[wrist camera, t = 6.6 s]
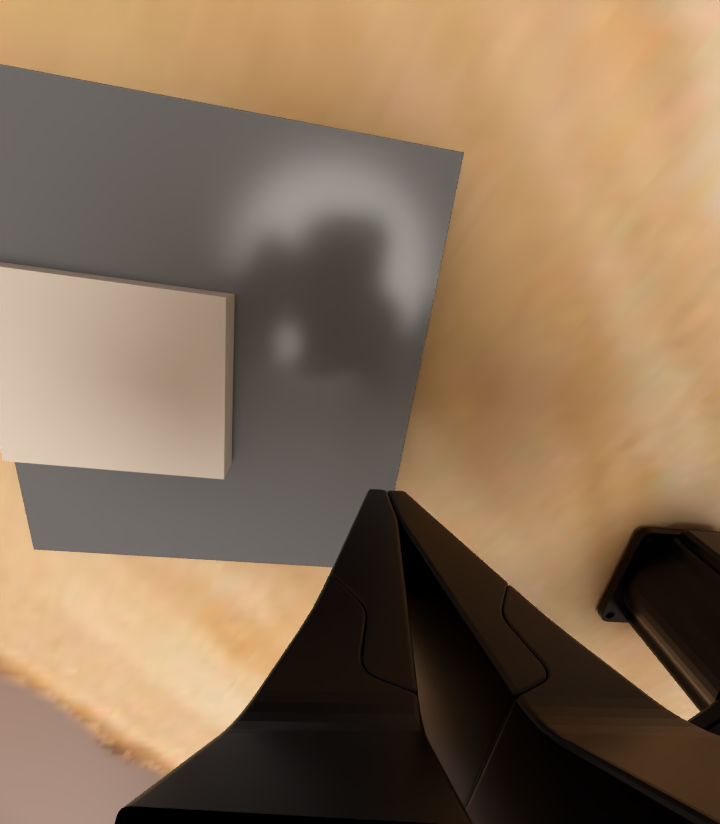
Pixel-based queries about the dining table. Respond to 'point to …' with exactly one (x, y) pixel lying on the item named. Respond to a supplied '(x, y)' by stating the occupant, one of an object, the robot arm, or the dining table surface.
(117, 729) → the dining table surface
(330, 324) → the board
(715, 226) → the dining table surface
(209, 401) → the tile
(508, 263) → the dining table surface
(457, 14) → the dining table surface
